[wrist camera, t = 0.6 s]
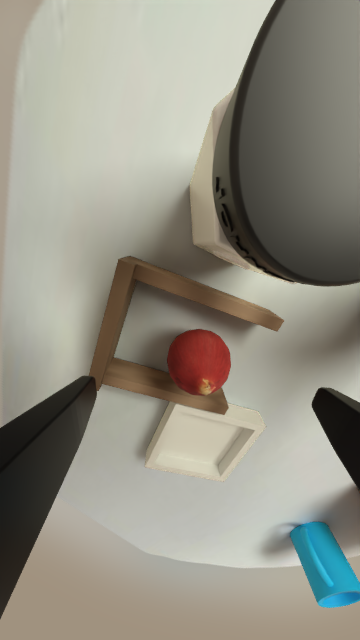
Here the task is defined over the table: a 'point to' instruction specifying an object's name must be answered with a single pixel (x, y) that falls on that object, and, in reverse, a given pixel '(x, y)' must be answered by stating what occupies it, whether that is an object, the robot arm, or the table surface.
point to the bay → (148, 378)
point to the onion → (199, 362)
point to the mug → (325, 565)
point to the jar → (288, 151)
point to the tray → (203, 440)
